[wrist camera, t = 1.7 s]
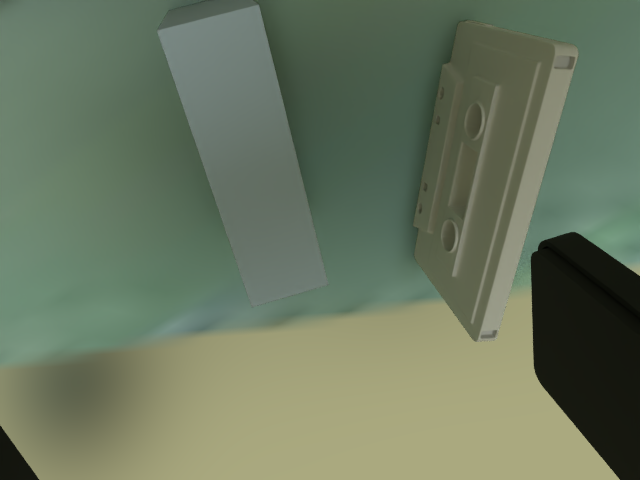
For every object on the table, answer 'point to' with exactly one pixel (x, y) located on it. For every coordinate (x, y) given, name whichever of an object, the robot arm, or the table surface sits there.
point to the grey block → (245, 144)
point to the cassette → (487, 165)
